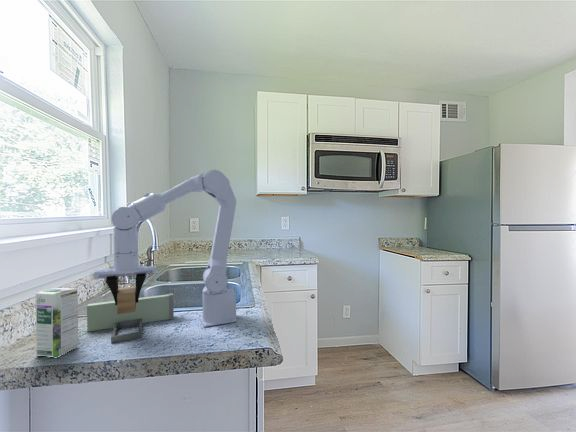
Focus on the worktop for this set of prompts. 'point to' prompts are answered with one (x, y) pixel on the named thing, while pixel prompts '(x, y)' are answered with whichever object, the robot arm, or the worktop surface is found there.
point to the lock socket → (128, 336)
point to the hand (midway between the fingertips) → (127, 302)
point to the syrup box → (56, 321)
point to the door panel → (145, 309)
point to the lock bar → (126, 300)
